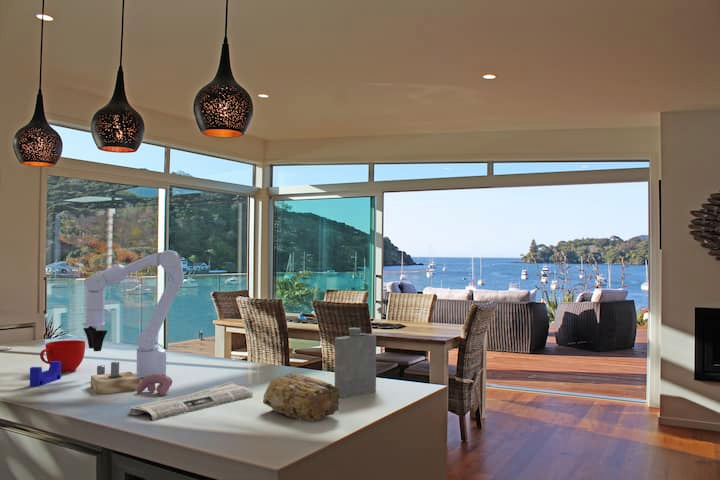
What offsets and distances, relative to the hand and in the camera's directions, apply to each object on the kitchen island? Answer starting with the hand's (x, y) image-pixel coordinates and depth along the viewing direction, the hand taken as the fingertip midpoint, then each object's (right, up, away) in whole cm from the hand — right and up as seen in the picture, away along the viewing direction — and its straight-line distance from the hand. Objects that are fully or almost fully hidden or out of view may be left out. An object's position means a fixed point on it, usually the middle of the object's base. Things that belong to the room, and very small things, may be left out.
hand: (94, 349), depth 213 cm
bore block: (+13, -9, -16) cm, 23 cm away
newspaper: (+43, -10, -36) cm, 57 cm away
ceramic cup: (-16, -10, +10) cm, 21 cm away
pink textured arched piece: (+28, -9, -23) cm, 37 cm away
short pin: (+4, -9, -4) cm, 11 cm away
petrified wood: (+75, -9, -47) cm, 89 cm away
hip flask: (+88, -10, -23) cm, 92 cm away
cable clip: (-13, -10, -8) cm, 18 cm away
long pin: (+13, -9, -16) cm, 23 cm away
